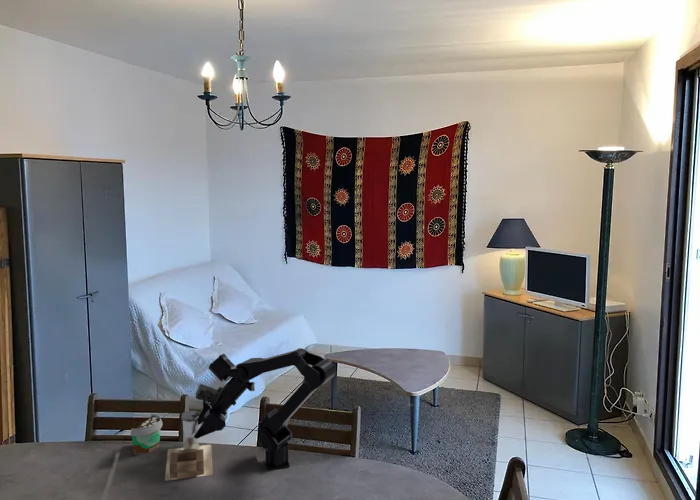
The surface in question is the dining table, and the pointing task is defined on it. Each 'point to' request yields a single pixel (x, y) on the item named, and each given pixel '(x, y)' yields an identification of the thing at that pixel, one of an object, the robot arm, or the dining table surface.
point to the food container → (147, 435)
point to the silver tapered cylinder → (190, 429)
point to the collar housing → (188, 463)
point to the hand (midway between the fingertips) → (194, 431)
